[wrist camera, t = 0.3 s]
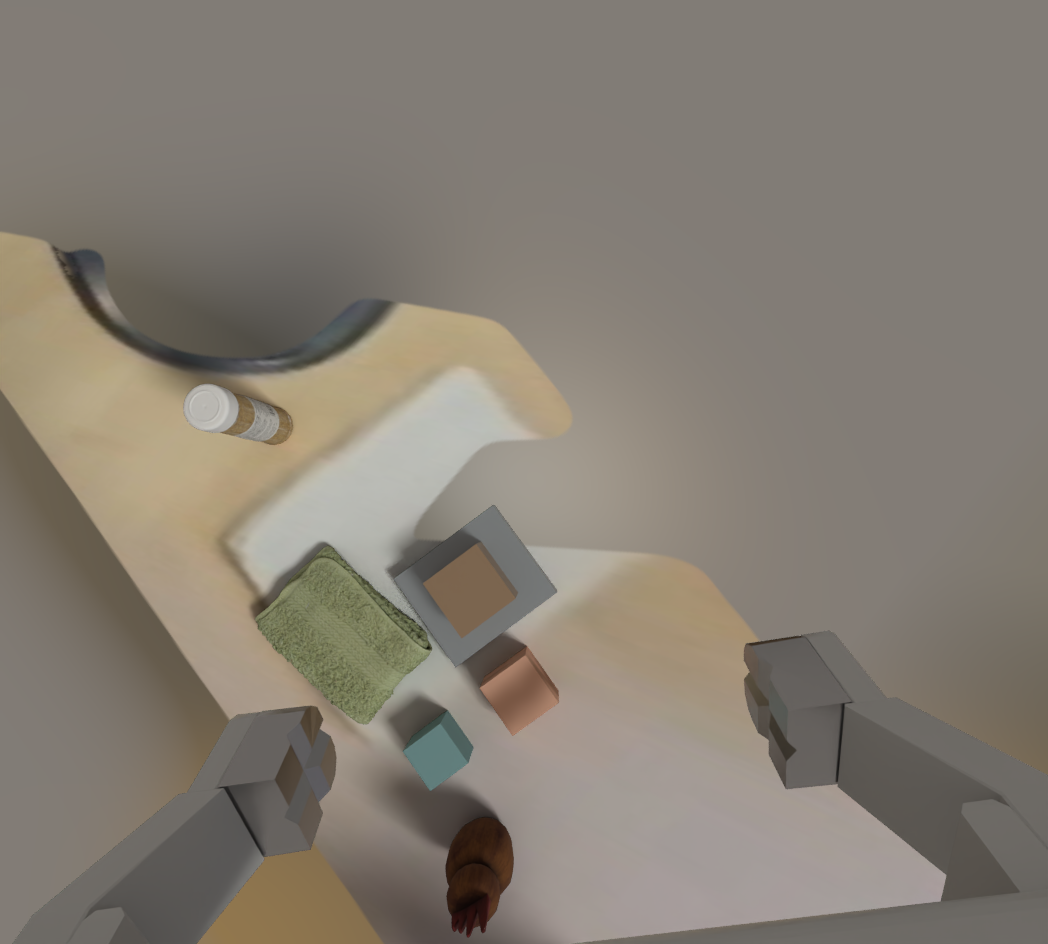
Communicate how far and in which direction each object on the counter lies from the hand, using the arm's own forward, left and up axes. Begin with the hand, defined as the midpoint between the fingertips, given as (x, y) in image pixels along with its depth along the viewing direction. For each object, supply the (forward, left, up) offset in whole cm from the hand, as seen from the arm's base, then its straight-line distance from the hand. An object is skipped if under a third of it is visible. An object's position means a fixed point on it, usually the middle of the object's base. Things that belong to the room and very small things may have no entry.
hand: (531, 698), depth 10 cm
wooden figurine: (-22, +25, -53) cm, 63 cm away
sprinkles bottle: (+30, +18, -53) cm, 63 cm away
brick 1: (-11, +23, -53) cm, 59 cm away
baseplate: (+1, +10, -53) cm, 54 cm away
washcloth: (+5, +25, -53) cm, 59 cm away
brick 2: (-11, +12, -53) cm, 55 cm away
